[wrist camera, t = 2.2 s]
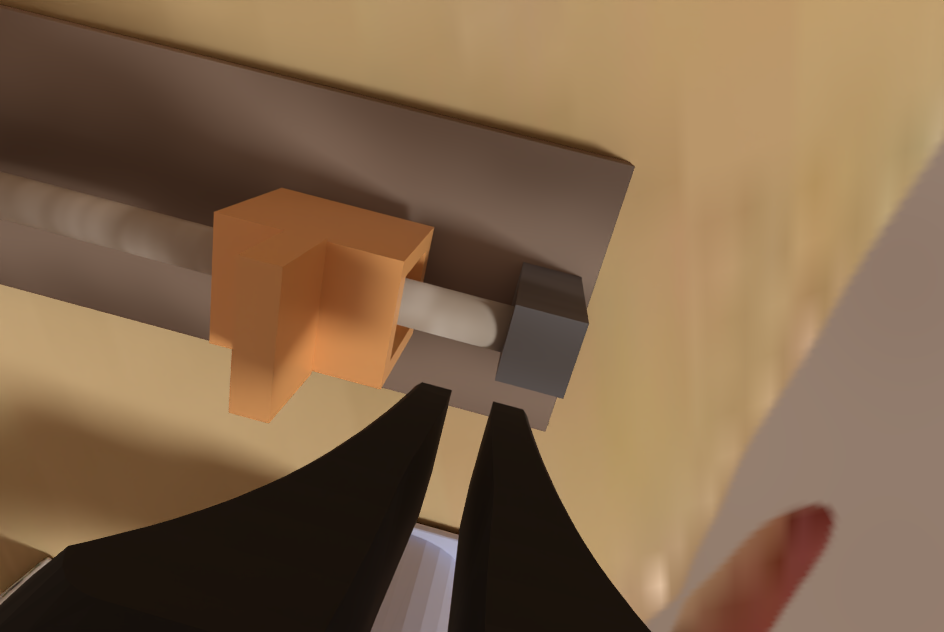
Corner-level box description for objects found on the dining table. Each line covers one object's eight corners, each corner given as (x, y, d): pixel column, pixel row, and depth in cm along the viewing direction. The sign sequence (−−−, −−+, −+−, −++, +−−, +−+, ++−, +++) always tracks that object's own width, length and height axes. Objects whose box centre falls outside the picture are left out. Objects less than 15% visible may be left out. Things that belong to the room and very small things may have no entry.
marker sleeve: (412, 336, 19) (349, 445, 13) (272, 299, 19) (149, 390, 13) (434, 223, 17) (374, 291, 11) (282, 184, 17) (146, 230, 12)
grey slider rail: (545, 414, 22) (543, 523, 16) (-108, 238, 23) (-317, 284, 17) (629, 162, 18) (664, 193, 12) (-166, -37, 19) (-460, -90, 13)
